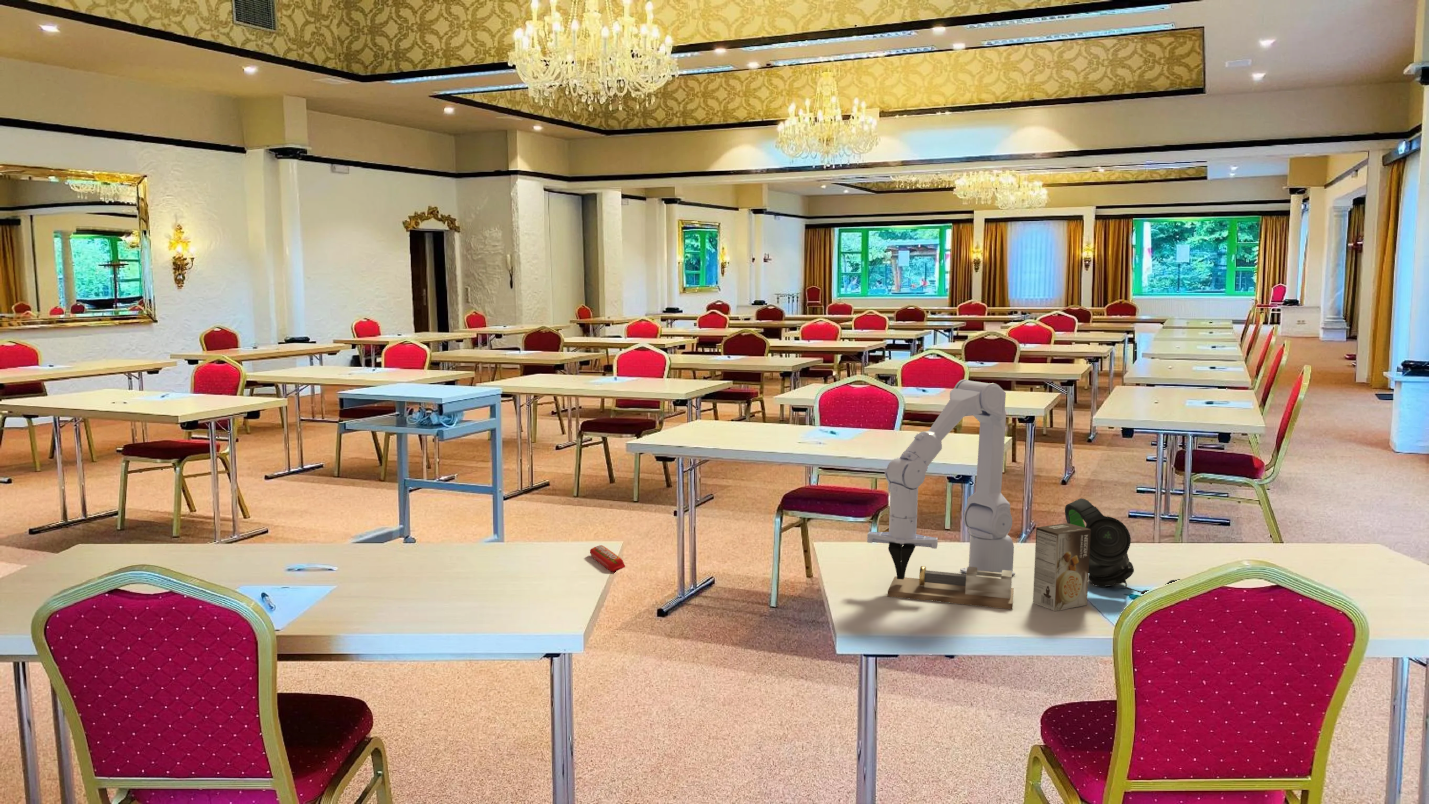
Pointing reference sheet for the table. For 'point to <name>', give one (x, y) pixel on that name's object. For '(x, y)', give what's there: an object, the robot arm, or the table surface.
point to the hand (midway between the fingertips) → (900, 577)
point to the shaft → (941, 577)
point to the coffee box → (1061, 566)
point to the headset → (1104, 544)
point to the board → (961, 589)
